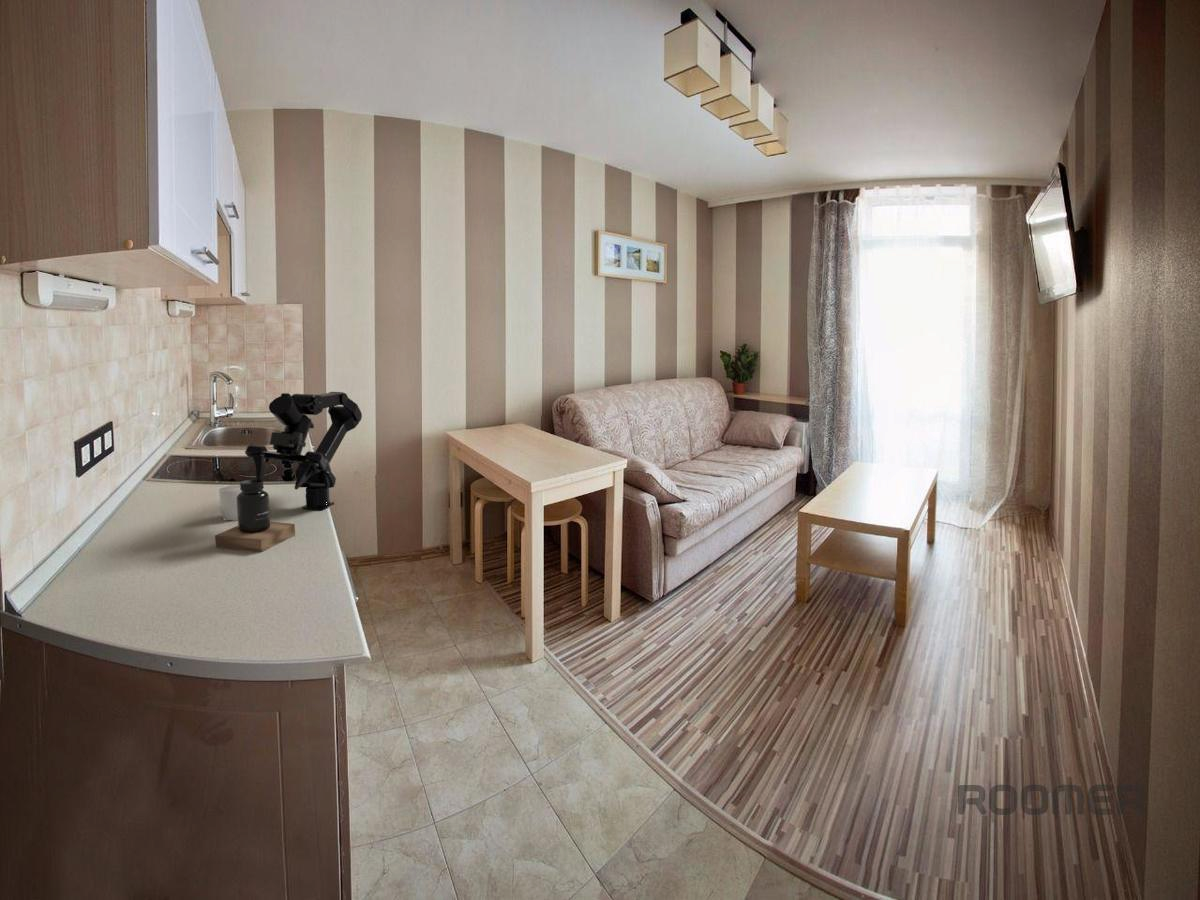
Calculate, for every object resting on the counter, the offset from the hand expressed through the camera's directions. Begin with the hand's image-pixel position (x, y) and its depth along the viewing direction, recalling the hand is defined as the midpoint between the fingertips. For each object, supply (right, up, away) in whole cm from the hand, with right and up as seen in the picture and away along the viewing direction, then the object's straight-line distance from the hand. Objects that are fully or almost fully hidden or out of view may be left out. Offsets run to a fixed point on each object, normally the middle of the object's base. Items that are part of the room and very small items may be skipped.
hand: (276, 486), depth 152 cm
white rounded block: (-17, -9, +11) cm, 22 cm away
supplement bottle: (-1, -10, -7) cm, 12 cm away
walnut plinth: (-1, -13, -7) cm, 15 cm away
